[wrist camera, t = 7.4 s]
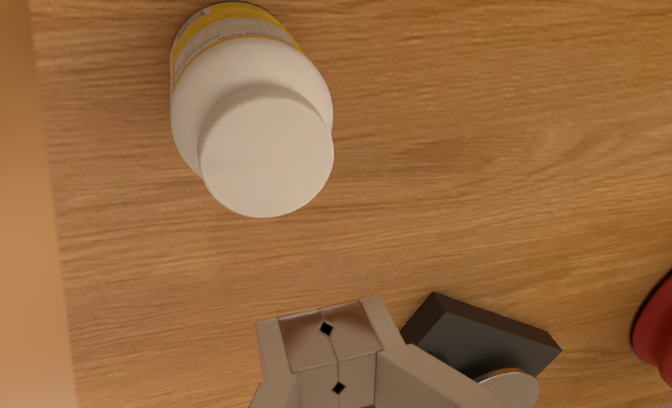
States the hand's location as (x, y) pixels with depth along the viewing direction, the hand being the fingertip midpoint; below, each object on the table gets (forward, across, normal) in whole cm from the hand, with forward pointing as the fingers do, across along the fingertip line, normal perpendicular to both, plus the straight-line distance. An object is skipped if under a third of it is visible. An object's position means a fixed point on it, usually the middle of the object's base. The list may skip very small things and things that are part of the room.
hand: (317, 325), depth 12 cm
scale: (+18, -17, +30) cm, 39 cm away
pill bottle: (+19, 0, -1) cm, 19 cm away
